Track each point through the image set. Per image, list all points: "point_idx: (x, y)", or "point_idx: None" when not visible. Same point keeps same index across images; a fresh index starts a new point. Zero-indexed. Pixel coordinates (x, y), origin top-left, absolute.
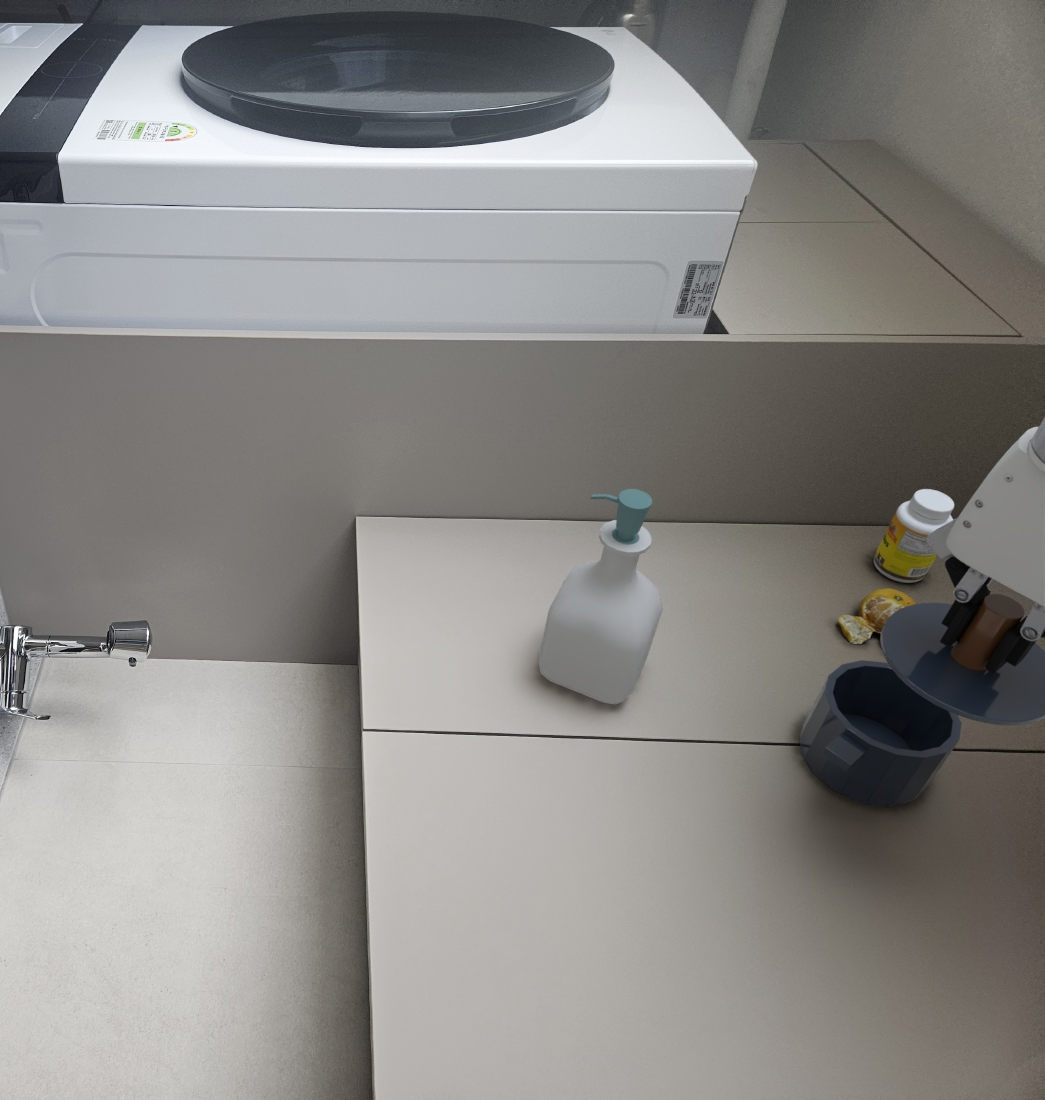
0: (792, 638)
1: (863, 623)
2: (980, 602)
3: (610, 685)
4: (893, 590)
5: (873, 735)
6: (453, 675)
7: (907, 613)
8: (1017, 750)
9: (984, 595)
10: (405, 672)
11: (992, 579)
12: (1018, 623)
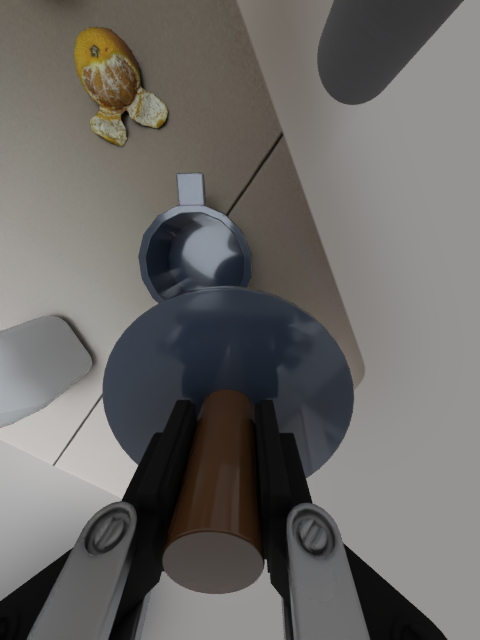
0: (94, 190)
1: (108, 116)
2: (167, 531)
3: (75, 382)
4: (82, 39)
5: (200, 239)
6: (31, 415)
7: (115, 397)
8: (274, 144)
9: (157, 538)
10: (19, 433)
11: (123, 567)
12: (262, 530)
